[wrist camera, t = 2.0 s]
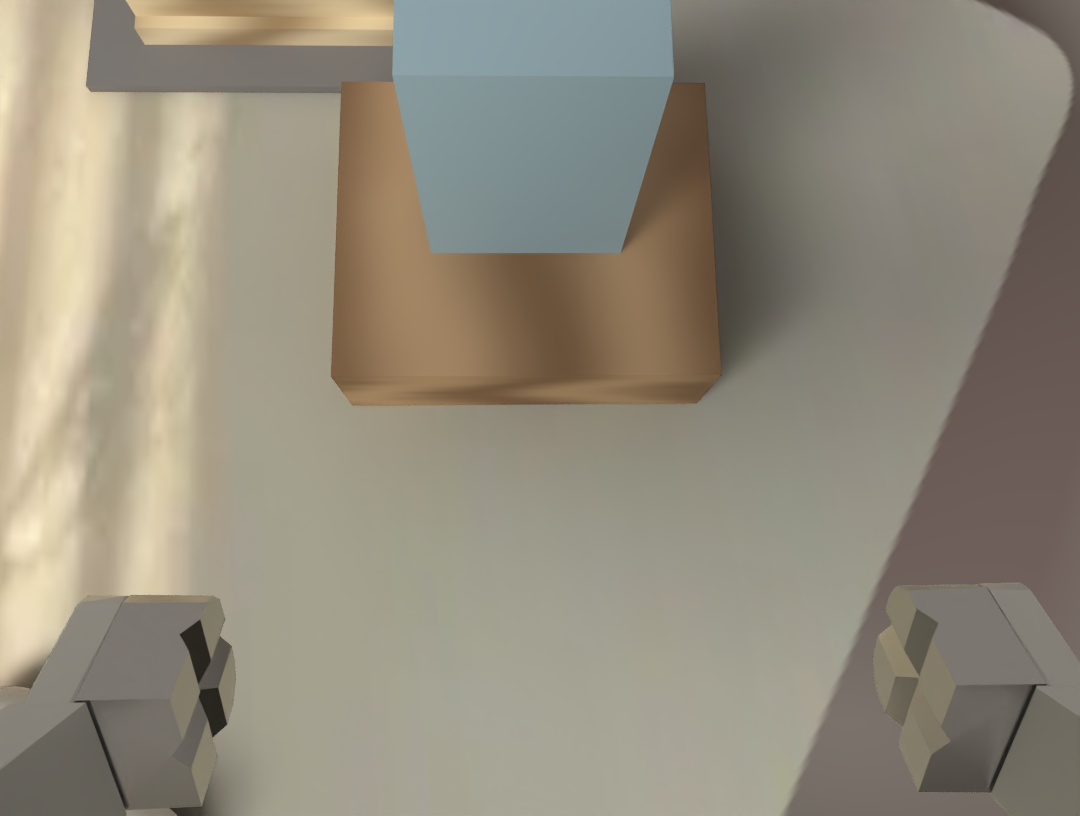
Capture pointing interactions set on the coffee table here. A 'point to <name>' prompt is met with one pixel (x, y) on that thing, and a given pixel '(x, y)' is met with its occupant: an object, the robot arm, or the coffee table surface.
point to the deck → (521, 285)
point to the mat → (220, 62)
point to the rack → (264, 22)
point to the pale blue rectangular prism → (530, 118)
